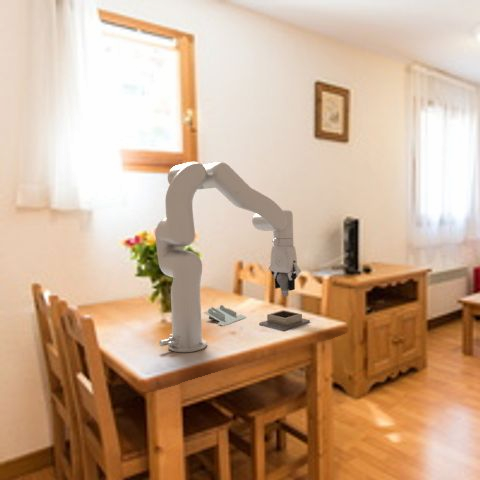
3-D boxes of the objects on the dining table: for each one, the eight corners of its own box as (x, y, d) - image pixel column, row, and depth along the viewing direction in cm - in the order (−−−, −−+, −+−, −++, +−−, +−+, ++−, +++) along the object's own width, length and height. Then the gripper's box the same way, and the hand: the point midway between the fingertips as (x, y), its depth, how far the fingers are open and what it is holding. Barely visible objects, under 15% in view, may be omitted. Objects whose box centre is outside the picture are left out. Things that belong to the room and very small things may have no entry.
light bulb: (281, 294, 163) (280, 269, 162) (295, 295, 160) (294, 270, 159) (274, 297, 158) (273, 271, 157) (289, 298, 154) (288, 272, 154)
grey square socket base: (282, 331, 149) (282, 321, 149) (259, 324, 158) (259, 315, 158) (309, 322, 160) (309, 313, 160) (286, 316, 169) (286, 308, 169)
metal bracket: (199, 308, 164) (223, 301, 176) (197, 321, 166) (221, 313, 177) (226, 323, 156) (249, 314, 168) (223, 336, 158) (246, 327, 169)
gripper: (260, 242, 161) (261, 288, 162) (294, 244, 148) (296, 293, 150) (273, 241, 166) (274, 285, 167) (307, 242, 153) (308, 290, 155)
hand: (284, 288), depth 158 cm, fingers closed on light bulb, 6 cm apart
